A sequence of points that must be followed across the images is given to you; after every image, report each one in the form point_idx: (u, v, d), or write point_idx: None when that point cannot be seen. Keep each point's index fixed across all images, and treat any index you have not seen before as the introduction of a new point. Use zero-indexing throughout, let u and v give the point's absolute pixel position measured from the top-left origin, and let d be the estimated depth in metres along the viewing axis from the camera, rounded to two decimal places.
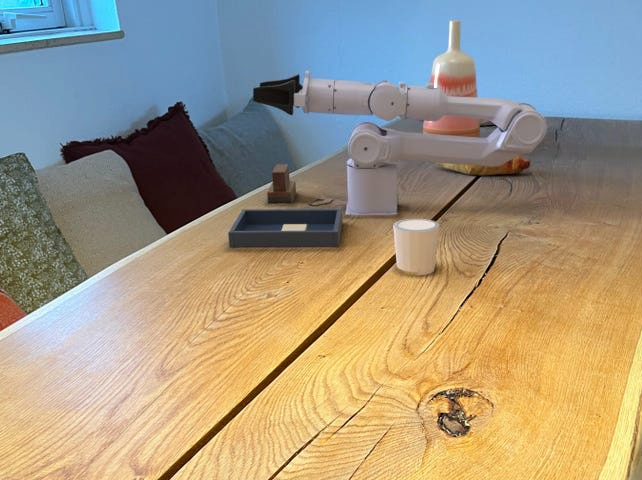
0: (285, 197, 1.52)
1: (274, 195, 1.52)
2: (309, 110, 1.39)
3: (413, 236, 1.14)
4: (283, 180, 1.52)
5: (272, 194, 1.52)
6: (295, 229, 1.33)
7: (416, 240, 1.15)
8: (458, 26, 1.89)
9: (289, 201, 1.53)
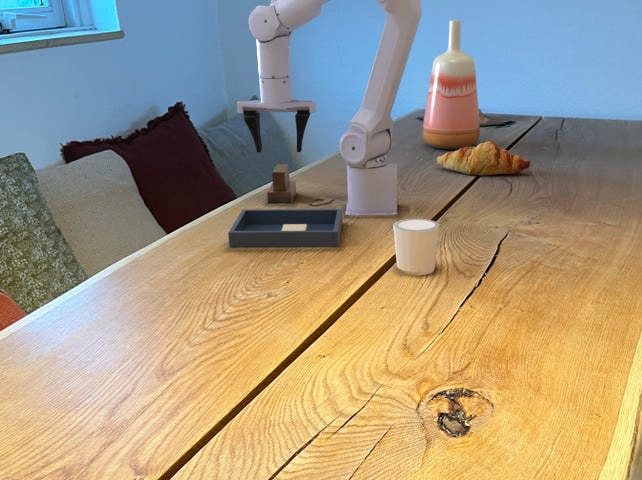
0: (285, 197, 1.52)
1: (274, 195, 1.52)
2: (266, 102, 1.47)
3: (413, 236, 1.14)
4: (283, 180, 1.52)
5: (272, 194, 1.52)
6: (295, 229, 1.33)
7: (416, 240, 1.15)
8: (458, 26, 1.89)
9: (289, 201, 1.53)
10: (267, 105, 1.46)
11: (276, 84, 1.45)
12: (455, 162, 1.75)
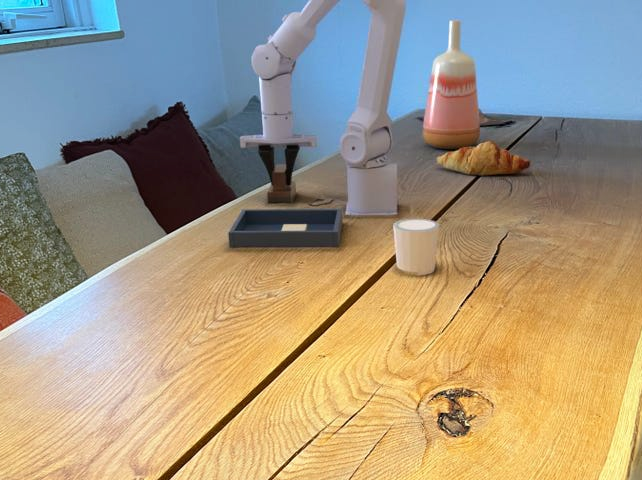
0: (285, 197, 1.52)
1: (274, 195, 1.52)
2: (268, 137, 1.49)
3: (413, 236, 1.14)
4: (283, 180, 1.52)
5: (272, 194, 1.52)
6: (295, 229, 1.33)
7: (416, 240, 1.15)
8: (458, 26, 1.89)
9: (289, 201, 1.53)
10: (269, 140, 1.49)
11: (278, 120, 1.48)
12: (455, 162, 1.75)
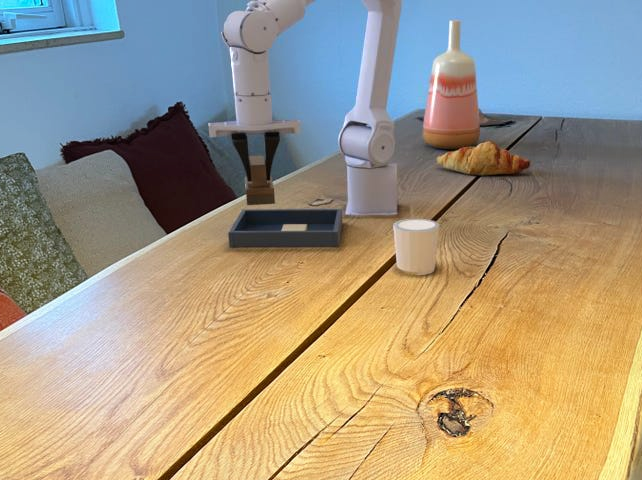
0: (267, 194, 1.28)
1: (254, 192, 1.28)
2: (244, 123, 1.25)
3: (413, 235, 1.14)
4: (264, 174, 1.28)
5: (252, 191, 1.28)
6: (295, 229, 1.33)
7: (416, 240, 1.15)
8: (458, 26, 1.89)
9: (272, 199, 1.29)
10: (247, 127, 1.25)
11: (257, 102, 1.23)
12: (455, 162, 1.75)
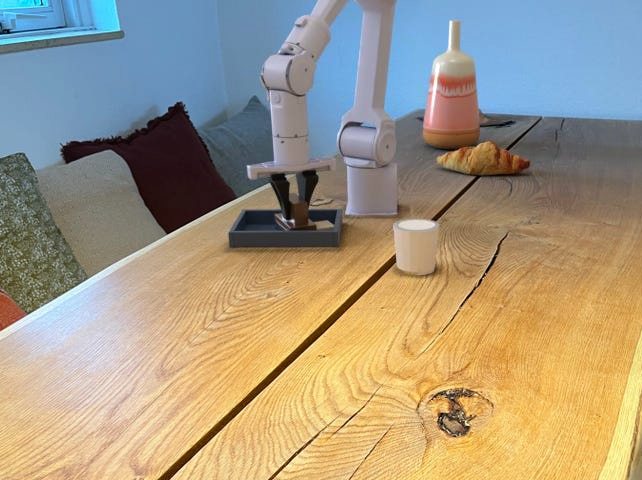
0: None
1: (298, 230, 1.29)
2: (287, 164, 1.26)
3: (413, 236, 1.14)
4: (306, 211, 1.30)
5: (296, 229, 1.29)
6: (324, 226, 1.34)
7: (416, 240, 1.15)
8: (458, 26, 1.89)
9: None
10: (289, 168, 1.26)
11: (299, 143, 1.25)
12: (455, 162, 1.75)
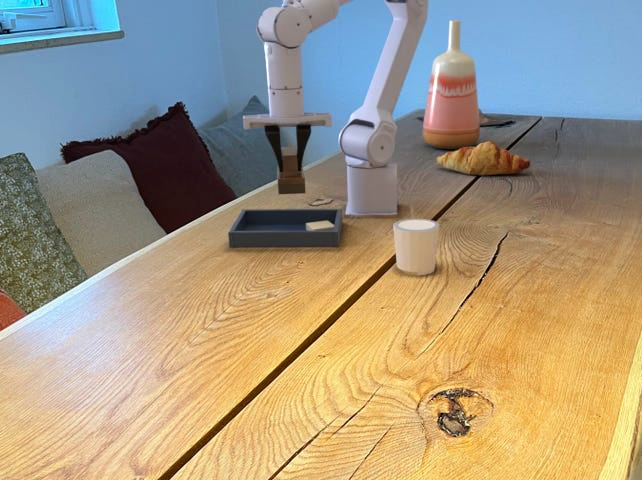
0: (298, 184, 1.32)
1: (286, 182, 1.32)
2: (277, 116, 1.29)
3: (413, 236, 1.14)
4: (296, 164, 1.32)
5: (283, 181, 1.32)
6: (324, 226, 1.34)
7: (416, 240, 1.15)
8: (458, 26, 1.89)
9: (303, 188, 1.33)
10: (279, 119, 1.29)
11: (290, 96, 1.28)
12: (455, 162, 1.75)
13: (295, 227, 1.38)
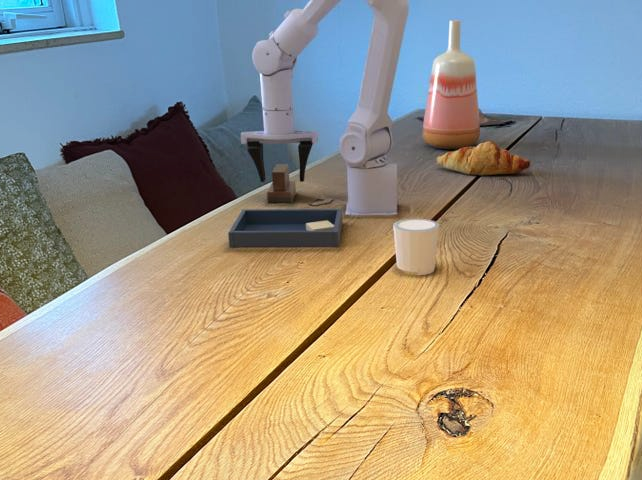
0: (285, 197, 1.52)
1: (274, 195, 1.52)
2: (269, 133, 1.49)
3: (413, 236, 1.14)
4: (283, 180, 1.52)
5: (272, 194, 1.52)
6: (324, 226, 1.34)
7: (416, 240, 1.15)
8: (458, 26, 1.89)
9: (289, 201, 1.53)
10: (270, 136, 1.49)
11: (279, 116, 1.47)
12: (455, 162, 1.75)
13: (295, 227, 1.38)
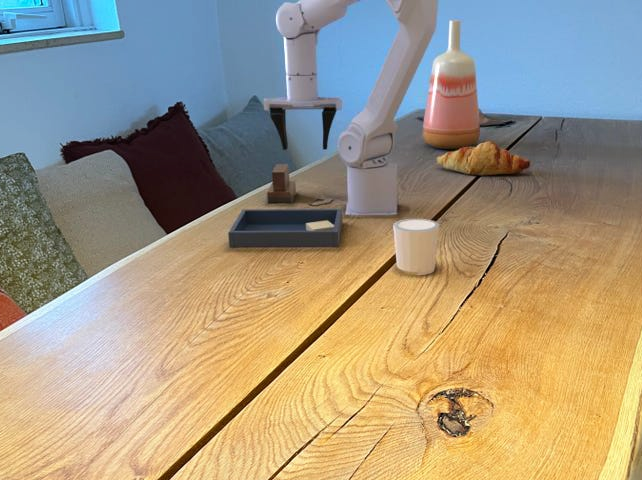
0: (285, 197, 1.52)
1: (274, 195, 1.52)
2: (292, 99, 1.46)
3: (413, 236, 1.14)
4: (283, 180, 1.52)
5: (272, 194, 1.52)
6: (324, 226, 1.34)
7: (416, 240, 1.15)
8: (458, 26, 1.89)
9: (289, 201, 1.53)
10: (294, 102, 1.46)
11: (303, 81, 1.44)
12: (455, 162, 1.75)
13: (295, 227, 1.38)
